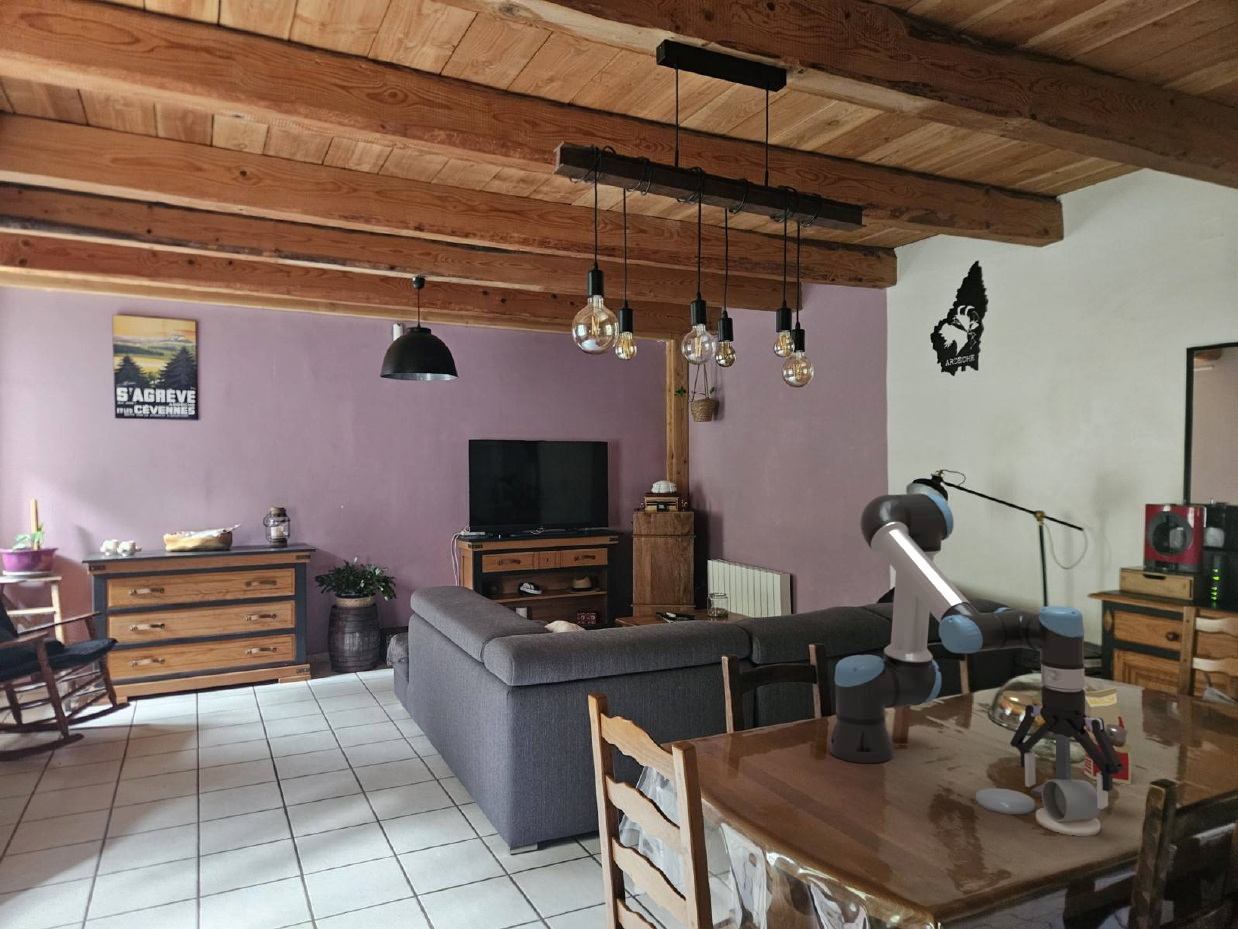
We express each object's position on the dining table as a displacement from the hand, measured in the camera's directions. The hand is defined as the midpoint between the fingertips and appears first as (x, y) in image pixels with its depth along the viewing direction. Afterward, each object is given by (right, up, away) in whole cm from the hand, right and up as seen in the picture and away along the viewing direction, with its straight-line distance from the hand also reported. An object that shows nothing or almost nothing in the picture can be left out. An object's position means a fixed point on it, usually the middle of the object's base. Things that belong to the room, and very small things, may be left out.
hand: (1065, 795), depth 157 cm
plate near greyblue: (-7, -6, +10) cm, 13 cm away
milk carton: (+23, -6, +24) cm, 34 cm away
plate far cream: (0, -5, 0) cm, 5 cm away
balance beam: (+7, +10, +13) cm, 17 cm away
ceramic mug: (0, -4, 0) cm, 5 cm away
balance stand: (+7, -5, +13) cm, 15 cm away
